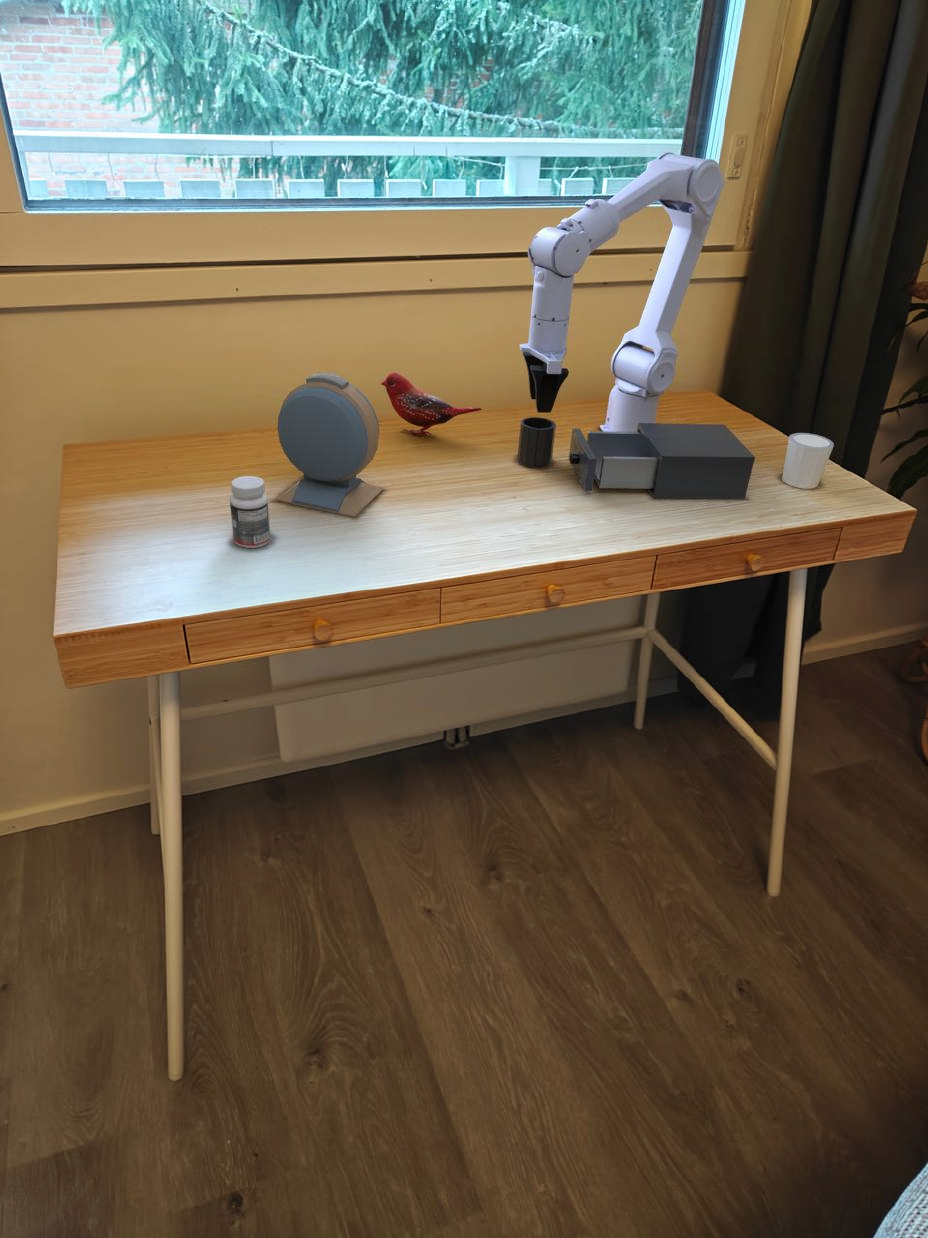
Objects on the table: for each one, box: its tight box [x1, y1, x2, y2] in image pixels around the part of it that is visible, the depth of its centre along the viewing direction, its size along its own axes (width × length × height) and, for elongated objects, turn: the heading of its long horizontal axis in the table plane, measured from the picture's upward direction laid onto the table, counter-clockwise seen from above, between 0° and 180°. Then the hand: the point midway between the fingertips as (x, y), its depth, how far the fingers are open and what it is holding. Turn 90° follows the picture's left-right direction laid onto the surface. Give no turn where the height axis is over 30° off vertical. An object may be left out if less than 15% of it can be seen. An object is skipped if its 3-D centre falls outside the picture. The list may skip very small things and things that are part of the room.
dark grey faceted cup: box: [517, 416, 557, 469], centre depth 143 cm, size 5×5×6 cm
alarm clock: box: [275, 372, 384, 518], centre depth 125 cm, size 14×10×18 cm
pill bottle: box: [229, 475, 271, 549], centre depth 115 cm, size 5×5×8 cm
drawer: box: [568, 428, 660, 492], centre depth 138 cm, size 15×12×5 cm
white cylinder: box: [781, 432, 835, 490], centre depth 142 cm, size 7×7×7 cm
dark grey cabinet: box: [637, 422, 756, 500], centre depth 140 cm, size 14×13×7 cm
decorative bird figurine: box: [380, 372, 483, 436], centre depth 148 cm, size 3×18×10 cm, turn 74°
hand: (540, 405), depth 139 cm, fingers open, 5 cm apart
